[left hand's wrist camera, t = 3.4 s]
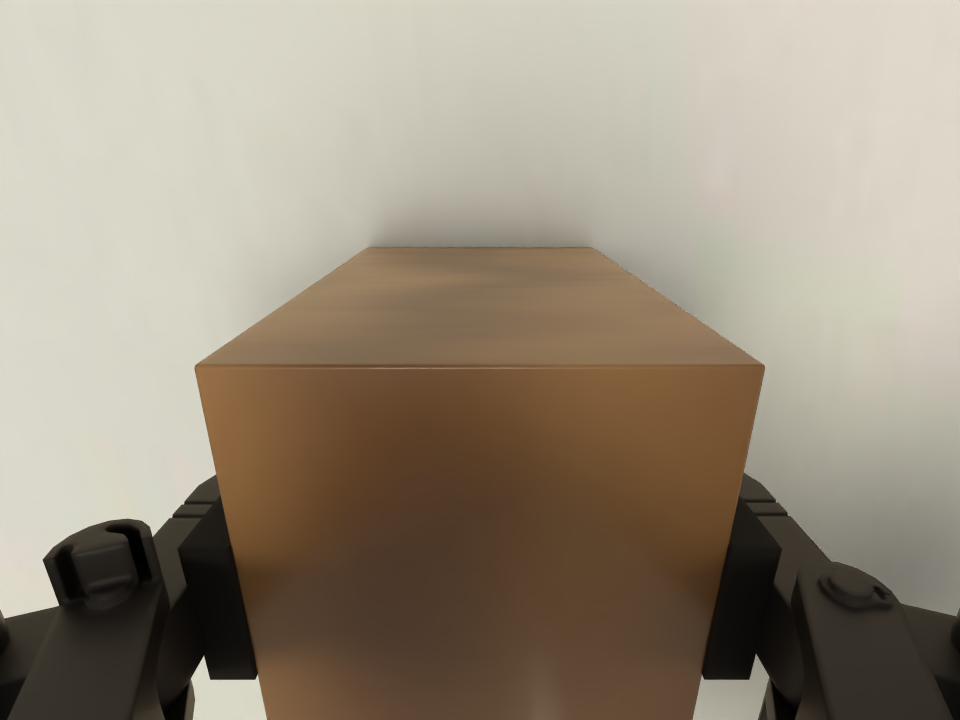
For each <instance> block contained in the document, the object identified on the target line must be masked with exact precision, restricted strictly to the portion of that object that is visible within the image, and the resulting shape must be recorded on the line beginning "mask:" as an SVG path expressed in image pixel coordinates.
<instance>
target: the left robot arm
mask: <svg viewBox="0 0 960 720" xmlns="http://www.w3.org/2000/svg"><path fill="white" fill-rule="evenodd" d="M43 562H44V565H45V568H46V570H47V573H48V576H49V578H50V581H51V584H52V587H53V589H54V592H55V595H56V597H57V600H58V603H59V606H57V607H53V608H49V609H45V610H40V611H36V612H31V613H27V614H23V615H18V616H14V617H9V618H5V619H4V617H3V615H2V613H1V610H0V720H193V712H194V703H195V696H194V689H193V685H192V681H191V677H192V675H193V674H194V672H195V670H196V668H197V667H198V665H199V663H200V661H201V660H202V658H203V656H204V657H205V660H206V664H207V668H208V672H209V676H210V680H255V679H256V677H257V674H258V673H257V668H256V663H255V658H254V653H253V648H252V644H251V639H250V634H249V629H248V624H247V619H246V615H245V610H244V605H243V600H242V595H241V590H240V586H239V581H238V576H237V571H236V566H235V561H234V557H233V552H232V547H231V542H230V537H229V533H228V528H227V523H226V518H225V513H224V508H223V504H222V499H221V494H220V489H219V484H218V479H217V475H215V476H213V477H211V478H210V479H208V480H207V481H205V482H204V483H202V484H200V485H199V486H198V487H197V488H196V489H195V490H194V491H193V493H192V494H191V495H190V496H189V497H188V498H187V499H186V500H185V503H184V505H181V506H180V507H179V508H178V509H177V510H176V512H175V513H174V514H173V517H172V518H169V519H168V521H167V522H166V523H165V524H164V525H163V526H162V527H161V528H160V530H159V531H158V532H157V533H156V534H155V535H154V536H153V537H152V533H151V530H150V527H149V526H148V525H147V524H145V523H144V522H143V521H140V520H133V519H121V520H111V521H107V522H103V523H100V524H97V525H93V526H90V527H88V528H85V529H83V530H81V531H79V532H77V533H75V534H73V535H70V536H69V537H67V538H66V539H64V540H63V541H62V542H60V543H59V544H57V545H56V546H54V547H53V548H52V549H51V551H50V552H49V553H48V554H47V555H46V556H45V558H44V559H43ZM756 654H757V656H758V657H759V659H760V661H761V663H762V664H763V666H764V668H765V670H766V671H767V673H768V675H769V681H768V685H767V688H766V692H765V696H764V700H763V703H762V707H761V711H760V714H759V718H758V720H960V609H959V611H958V614H957V616H952V615H948V614H943V613H939V612H934V611H930V610H926V609H921V608H917V607H912V606H908V605H904V604H901V603H900V602H899V601H898V600H897V598H896V597H895V595H894V594H893V593H892V591H891V590H889V589H888V588H887V587H886V586H884V585H883V584H882V583H881V582H879V581H878V580H877V579H876V578H874V577H872V576H870V575H868V574H866V573H864V572H863V571H861V570H859V569H857V568H854V567H851V566H848V565H845V564H842V563H839V562H832V561H830V560H829V559H828V558H827V556H826V555H825V554H824V553H823V552H822V551H821V550H820V549H819V548H818V546H817V545H816V544H815V543H814V542H813V541H812V540H811V539H810V538H809V536H808V535H807V534H806V533H805V532H804V531H803V530H802V529H801V528H800V526H799V525H798V524H797V523H796V522H795V521H794V520H793V519H792V517H791V516H788V515H787V512H786V511H785V510H784V509H783V507H782V506H781V505H780V504H779V503H776V501H775V499H774V497H773V496H772V495H771V494H770V493H769V492H768V491H767V490H766V489H765V487H764V486H763V485H762V484H761V483H759V482H758V481H756V480H754V479H753V478H751V477H750V476H748V475H746V474H745V473H743V477H742V482H741V487H740V492H739V497H738V501H737V506H736V511H735V516H734V521H733V526H732V530H731V535H730V540H729V545H728V550H727V555H726V559H725V564H724V569H723V574H722V579H721V584H720V588H719V593H718V598H717V603H716V608H715V613H714V617H713V622H712V627H711V632H710V637H709V642H708V646H707V651H706V656H705V661H704V666H703V671H702V675H703V677H704V680H749V679H750V675H751V671H752V667H753V663H754V659H755V655H756Z"/></svg>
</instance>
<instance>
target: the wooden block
mask: <svg viewBox="0 0 960 720" xmlns="http://www.w3.org/2000/svg"><path fill="white" fill-rule="evenodd" d="M764 371H765V366H764V365H763V364H762V363H760V362H759V361H758V360H756V359H755V358H753V357H752V356H750V355H749V354H747V353H746V352H744V351H743V350H741V349H740V348H739V347H737V346H736V345H734V344H733V343H731V342H730V341H728V340H727V339H725V338H724V337H722V336H721V335H719V334H718V333H717V332H715V331H714V330H712V329H711V328H709V327H708V326H706V325H705V324H703V323H702V322H700V321H699V320H698V319H696V318H695V317H693V316H692V315H690V314H689V313H687V312H686V311H684V310H683V309H681V308H680V307H679V306H677V305H676V304H674V303H673V302H671V301H670V300H668V299H667V298H665V297H664V296H662V295H661V294H660V293H658V292H657V291H655V290H654V289H652V288H651V287H649V286H648V285H646V284H645V283H643V282H642V281H641V280H639V279H638V278H636V277H635V276H633V275H632V274H630V273H629V272H627V271H626V270H624V269H623V268H621V267H620V266H619V265H617V264H616V263H614V262H613V261H611V260H610V259H608V258H607V257H605V256H604V255H602V254H601V253H600V252H598V251H597V250H595V249H594V248H366V249H365V250H363V251H362V252H360V253H359V254H357V255H356V256H354V257H353V258H351V259H350V260H349V261H347V262H346V263H344V264H343V265H341V266H340V267H338V268H337V269H335V270H334V271H332V272H331V273H329V274H328V275H327V276H325V277H324V278H322V279H321V280H319V281H318V282H316V283H315V284H313V285H312V286H310V287H309V288H307V289H306V290H305V291H303V292H302V293H300V294H299V295H297V296H296V297H294V298H293V299H291V300H290V301H288V302H287V303H286V304H284V305H283V306H281V307H280V308H278V309H277V310H275V311H274V312H272V313H271V314H269V315H268V316H266V317H265V318H264V319H262V320H261V321H259V322H258V323H256V324H255V325H253V326H252V327H250V328H249V329H247V330H246V331H244V332H243V333H242V334H240V335H239V336H237V337H236V338H234V339H233V340H231V341H230V342H228V343H227V344H225V345H224V346H223V347H221V348H220V349H218V350H217V351H215V352H214V353H212V354H211V355H209V356H208V357H206V358H205V359H203V360H202V361H201V362H199V363H198V364H196V365H195V373H196V378H197V383H198V388H199V392H200V397H201V402H202V407H203V412H204V417H205V421H206V426H207V431H208V436H209V441H210V446H211V450H212V455H213V460H214V465H215V470H216V475H217V479H218V484H219V489H220V494H221V499H222V504H223V508H224V513H225V518H226V523H227V528H228V533H229V537H230V542H231V547H232V552H233V557H234V561H235V566H236V571H237V576H238V581H239V586H240V590H241V595H242V600H243V605H244V610H245V615H246V619H247V624H248V629H249V634H250V639H251V644H252V648H253V653H254V658H255V663H256V668H257V673H258V677H259V682H260V687H261V692H262V697H263V702H264V706H265V711H266V716H267V720H692V719H693V714H694V709H695V705H696V700H697V695H698V690H699V685H700V680H701V676H702V671H703V666H704V661H705V656H706V651H707V646H708V642H709V637H710V632H711V627H712V622H713V617H714V613H715V608H716V603H717V598H718V593H719V588H720V584H721V579H722V574H723V569H724V564H725V559H726V555H727V550H728V545H729V540H730V535H731V530H732V526H733V521H734V516H735V511H736V506H737V501H738V497H739V492H740V487H741V482H742V477H743V472H744V467H745V463H746V458H747V453H748V448H749V443H750V438H751V434H752V429H753V424H754V419H755V414H756V409H757V405H758V400H759V395H760V390H761V385H762V380H763V376H764Z"/></svg>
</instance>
